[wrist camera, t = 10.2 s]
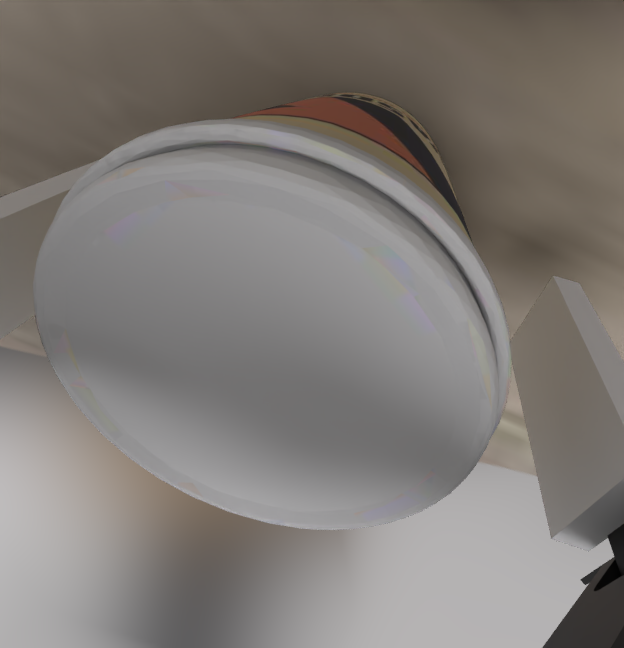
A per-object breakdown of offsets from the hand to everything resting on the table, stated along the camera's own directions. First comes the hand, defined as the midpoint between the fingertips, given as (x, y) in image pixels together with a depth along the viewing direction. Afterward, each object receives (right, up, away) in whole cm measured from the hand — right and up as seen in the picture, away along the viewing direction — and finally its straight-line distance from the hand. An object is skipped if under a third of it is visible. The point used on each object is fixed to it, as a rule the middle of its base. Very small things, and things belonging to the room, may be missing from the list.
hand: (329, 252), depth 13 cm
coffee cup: (+1, +3, +4) cm, 5 cm away
